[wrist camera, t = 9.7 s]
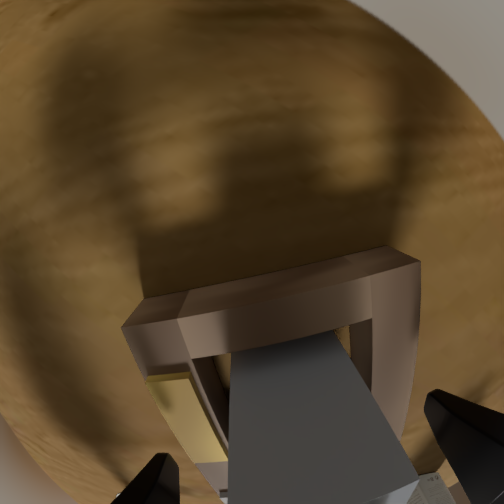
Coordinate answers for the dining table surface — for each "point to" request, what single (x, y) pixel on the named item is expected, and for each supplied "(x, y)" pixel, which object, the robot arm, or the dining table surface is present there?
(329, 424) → the plug
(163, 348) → the brown wooden flat frame
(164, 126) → the dining table surface
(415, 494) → the skincare box
